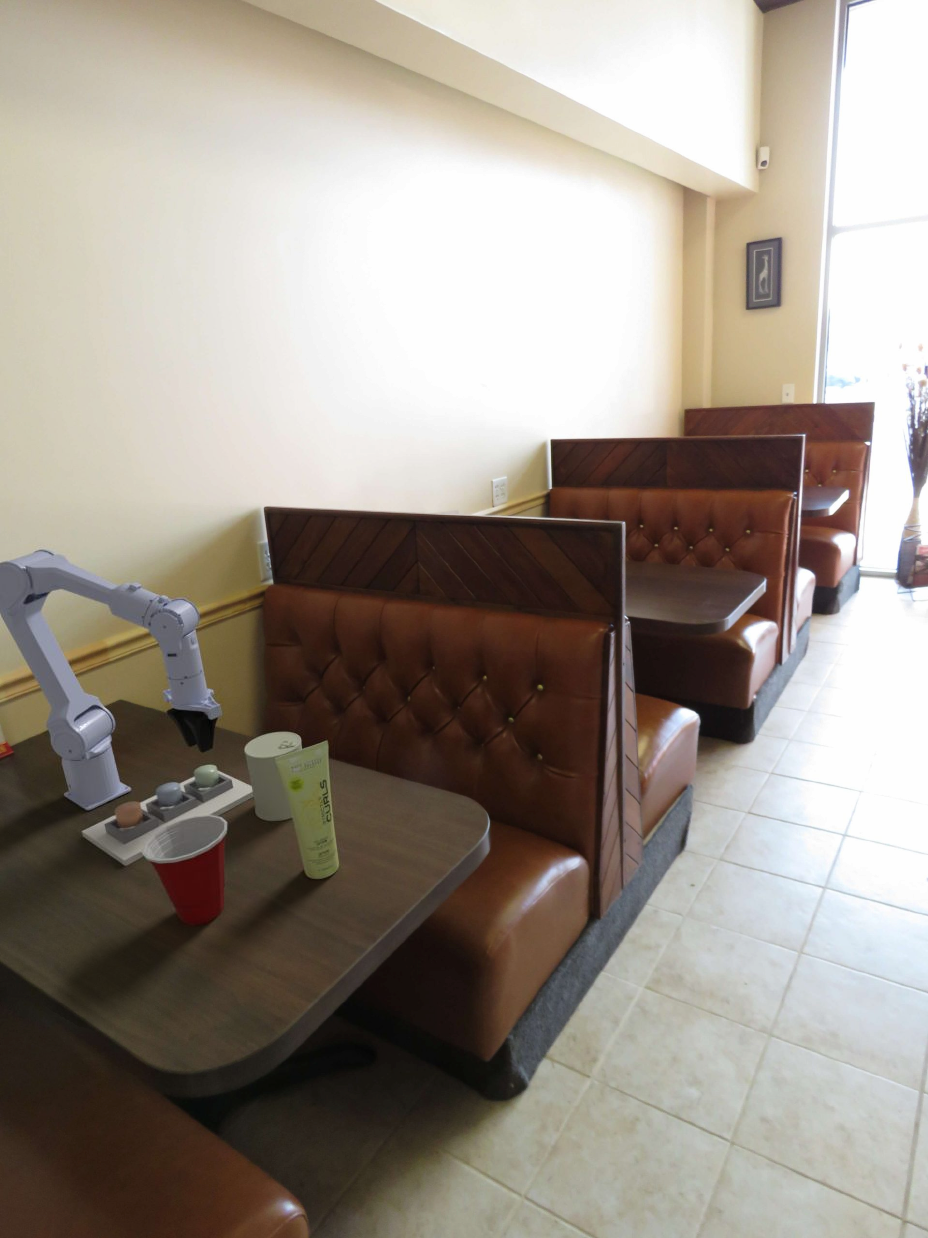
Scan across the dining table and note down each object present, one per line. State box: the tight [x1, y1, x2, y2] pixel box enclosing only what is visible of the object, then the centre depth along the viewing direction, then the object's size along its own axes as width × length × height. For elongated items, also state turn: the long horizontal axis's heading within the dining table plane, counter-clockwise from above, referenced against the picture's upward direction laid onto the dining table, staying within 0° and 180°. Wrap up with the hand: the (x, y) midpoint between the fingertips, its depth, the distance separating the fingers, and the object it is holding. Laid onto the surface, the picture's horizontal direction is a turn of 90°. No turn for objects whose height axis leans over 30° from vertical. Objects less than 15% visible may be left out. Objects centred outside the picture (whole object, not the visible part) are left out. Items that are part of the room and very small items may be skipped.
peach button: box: [114, 800, 143, 828], centre depth 119 cm, size 4×4×2 cm
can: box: [243, 731, 303, 822], centre depth 123 cm, size 9×9×12 cm
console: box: [81, 769, 254, 867], centre depth 125 cm, size 14×24×3 cm, turn 141°
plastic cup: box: [141, 815, 228, 926], centre depth 99 cm, size 11×11×12 cm
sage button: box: [193, 764, 219, 788], centre depth 129 cm, size 4×4×2 cm
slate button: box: [155, 781, 183, 807], centre depth 124 cm, size 4×4×2 cm
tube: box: [275, 740, 340, 880], centre depth 104 cm, size 6×5×20 cm
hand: (200, 747), depth 127 cm, fingers open, 3 cm apart
